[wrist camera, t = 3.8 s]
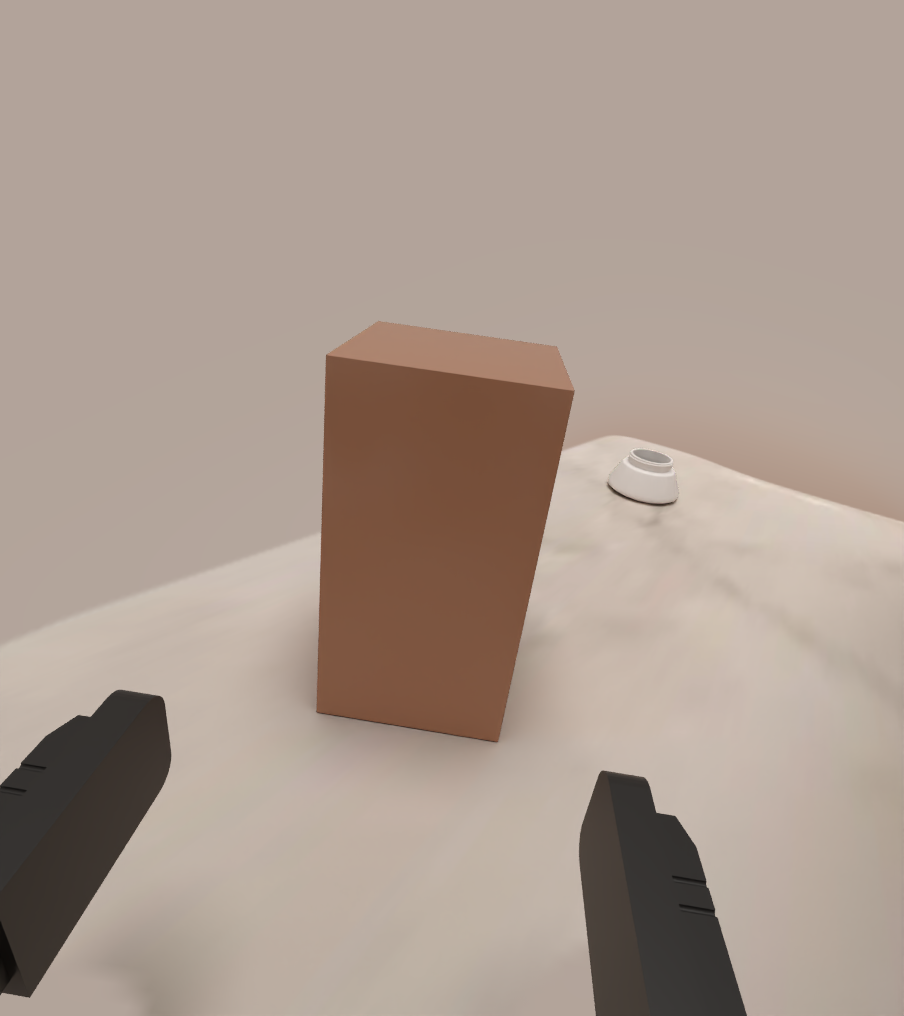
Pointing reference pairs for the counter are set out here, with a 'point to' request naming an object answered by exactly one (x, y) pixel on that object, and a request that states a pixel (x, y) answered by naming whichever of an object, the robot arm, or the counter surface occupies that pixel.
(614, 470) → the lidless jar
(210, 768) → the counter surface
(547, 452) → the brown rectangular block
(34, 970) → the robot arm
